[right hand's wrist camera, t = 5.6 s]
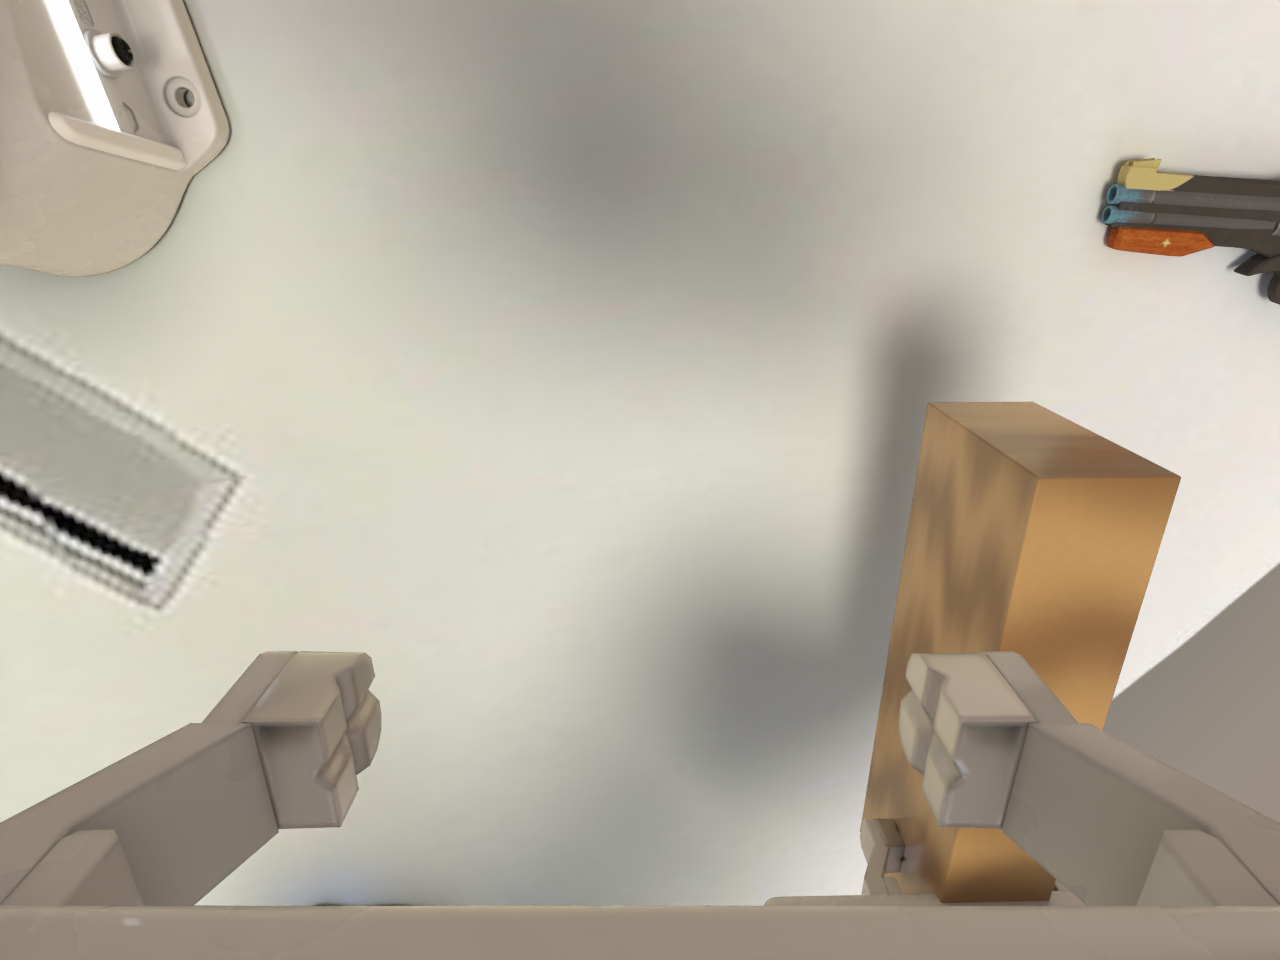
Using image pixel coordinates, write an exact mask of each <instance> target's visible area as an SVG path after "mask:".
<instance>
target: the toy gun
mask: <svg viewBox="0 0 1280 960" xmlns="http://www.w3.org/2000/svg"><path fill="white" fill-rule="evenodd" d="M1160 161H1161V159H1157V160H1155V159H1154V158H1152V159H1142V160H1133V161H1127V162H1126V164H1125V165H1122V166H1121V169H1120V171H1119V174H1118V179H1117V183H1115V184H1113V185H1112V186H1111V187H1110V188H1109V190H1108V192H1107V196H1106V200H1107V203H1108V204H1112V205H1108V206H1106V207H1105V208H1104V210H1103V212H1102V216H1101V221H1102V223H1106V225H1108V226H1112V229H1111V231H1110V234H1109V237H1108V240H1107V243H1108V247H1111V248H1113V249H1116V250H1122V251H1131V252H1139V253H1149V254H1158V255H1167V256H1185V255H1188V254H1191V253H1195V252H1198V251H1201V250H1205V249H1208V248H1211V247H1214V246H1224V247H1239V248H1246V249H1250V250H1252V251H1255V252H1256V253H1258V254H1256V255H1254V256H1252V257H1251V258H1249V259H1248V260H1247V261H1245V262H1244V263H1242V264H1241V265H1240V266H1239V267H1237V268H1236V269H1235V270H1234V272H1237V273H1240V274H1243V275H1246V276H1251V275H1255V274H1259V273H1264V272H1270V271H1274V275H1273V278H1272V279H1271V281H1270V283H1269V286H1268V298H1269V300H1270V301H1272V302H1274V303H1277V304H1280V181H1273V180H1257V179H1241V178H1225V177H1209V176H1195V175H1187V174H1176V173H1162V172H1157V170H1158V167H1159V164H1160Z"/></svg>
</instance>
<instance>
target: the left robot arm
mask: <svg viewBox="0 0 1280 960" xmlns="http://www.w3.org/2000/svg"><path fill="white" fill-rule="evenodd" d="M860 840H861V847H862V850H863V852H864V855H865V858H866V861H867V864H868V866H867V870H866V873H865V877H864V883H863V889H862V895H843V896H795V897H774V898H770V899H769V900H767V901H766V903H765V904H764V906H1087V905H1086V904H1084V903H1083V902H1082V901H1081V900H1080V899H1079V898H1077V897H1076V896H1075V895H1074V894H1073V893H1072V892H1070V891H1069V890H1068V889H1067V888H1066V887H1065V886H1064V885H1062V884H1061V883H1060V882H1059V881H1058V880H1057V879H1056V881H1055V884H1054V888H1053V891H1052V894H1051V897H1050V900H1049V901H1018V902H971V903H941V902H940V900H939V898H938V897H937V895H936V894H902V891H901V889H900V886H899V884H898V882H897V879H895V878H894V877H885V878H884V875H885V873H897V872H901V867H902V859H901V858H902V857H903V856H904V851H905V846H906V845H905V843H904V840H903V838H902V836H901V833H900V832H899V831H898V830H897V824H896V822H895V820H894V819H863V822H862V828H861V834H860Z"/></svg>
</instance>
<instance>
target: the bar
mask: <svg viewBox="0 0 1280 960" xmlns="http://www.w3.org/2000/svg"><path fill="white" fill-rule="evenodd" d="M1180 479H1181V477H1180V476H1179V475H1177V474H1175V473H1173V472H1171V471H1169V470H1167V469H1165V468H1163V467H1161V466H1159V465H1157V464H1155V463H1153V462H1151V461H1149V460H1147V459H1145V458H1143V457H1141V456H1139V455H1137V454H1135V453H1133V452H1131V451H1129V450H1127V449H1125V448H1123V447H1121V446H1119V445H1117V444H1115V443H1113V442H1111V441H1109V440H1107V439H1105V438H1103V437H1101V436H1099V435H1097V434H1096V433H1094V432H1092V431H1090V430H1088V429H1086V428H1084V427H1082V426H1080V425H1078V424H1076V423H1074V422H1072V421H1070V420H1068V419H1066V418H1064V417H1062V416H1060V415H1058V414H1056V413H1054V412H1052V411H1050V410H1048V409H1046V408H1044V407H1042V406H1040V405H1038V404H1036V403H1034V402H934V403H928V406H927V412H926V419H925V425H924V431H923V438H922V444H921V450H920V457H919V463H918V469H917V475H916V482H915V488H914V494H913V501H912V507H911V513H910V520H909V526H908V532H907V539H906V545H905V551H904V558H903V564H902V570H901V577H900V583H899V589H898V596H897V602H896V608H895V615H894V621H893V627H892V634H891V640H890V646H889V653H888V659H887V665H886V672H885V678H884V684H883V691H882V697H881V703H880V710H879V716H878V722H877V729H876V735H875V741H874V748H873V754H872V760H871V767H870V773H869V779H868V785H867V792H866V798H865V804H864V811H863V817H862V822H863V819H894V820H895V822H896V824H897V830H898V831H899V832H900V833H901V836H902V838H903V840H904V843H905V845H906V846H905V851H904V856H903V857H902V858H901V859H902V867H901V872H897V873H885V875H884V878H885V877H894V878H895V879H897V882H898V884H899V886H900V889H901V891H902V894H936V895H937V897H938V898H939V900H940V902H941V903H971V902H1018V901H1049V900H1050V897H1051V894H1052V891H1053V888H1054V884H1055V881H1056V879H1055V878H1054V877H1053V876H1052V875H1051V874H1050V873H1048V872H1047V871H1046V870H1045V869H1044V868H1043V867H1042V866H1040V865H1039V864H1038V863H1037V862H1036V861H1035V860H1033V859H1032V858H1031V857H1030V856H1029V855H1028V854H1026V853H1025V852H1024V851H1023V850H1022V849H1021V848H1020V847H1018V846H1017V845H1016V844H1015V843H1014V842H1013V841H1011V840H1010V839H1009V838H1008V837H1007V836H1006V835H1004V834H1003V833H1002V832H1001V831H1002V829H990V828H955V827H939V825H938V823H937V820H936V818H935V816H934V814H933V812H932V810H931V808H930V806H929V804H928V802H927V800H926V798H925V796H924V794H923V792H922V790H921V788H922V783H923V777H924V775H923V774H921V773H920V772H919V771H917V770H916V769H914V768H913V767H912V766H910V764H909V762H908V760H907V758H906V756H905V753H904V751H903V747H902V743H901V740H900V733H899V720H898V718H899V711H900V703H901V700H902V699H903V698H904V697H905V696H906V695H907V694H908V693H909V692H910V691H911V690H912V688H911V686H910V684H909V683H908V681H907V679H906V677H905V674H906V668H907V663H908V660H909V658H910V657H911V655H912V653H979V652H991V651H1014V652H1016V653H1018V654H1020V655H1022V657H1023V658H1024V659H1025V660H1026V661H1027V663H1028V664H1029V665H1030V666H1031V667H1032V668H1033V670H1034V671H1035V672H1036V673H1037V674H1038V676H1039V677H1040V678H1041V679H1042V680H1043V682H1044V683H1045V684H1046V685H1047V686H1048V687H1049V689H1050V690H1051V691H1052V692H1053V693H1054V695H1055V696H1056V697H1057V698H1058V699H1059V700H1060V702H1061V703H1062V704H1063V705H1064V706H1065V708H1066V709H1067V710H1068V711H1069V712H1070V713H1071V715H1072V716H1073V717H1074V718H1075V719H1076V721H1077V722H1078V723H1090V724H1092V725H1094V726H1096V727H1098V728H1099V729H1101V730H1103V727H1104V723H1105V720H1106V717H1107V714H1108V711H1109V707H1110V704H1111V701H1112V698H1113V695H1114V691H1115V688H1116V685H1117V682H1118V679H1119V675H1120V672H1121V669H1122V666H1123V663H1124V659H1125V656H1126V653H1127V650H1128V646H1129V643H1130V640H1131V637H1132V634H1133V630H1134V627H1135V624H1136V621H1137V618H1138V614H1139V611H1140V608H1141V605H1142V601H1143V598H1144V595H1145V592H1146V589H1147V585H1148V582H1149V579H1150V576H1151V573H1152V569H1153V566H1154V563H1155V560H1156V556H1157V553H1158V550H1159V547H1160V544H1161V540H1162V537H1163V534H1164V531H1165V528H1166V524H1167V521H1168V518H1169V515H1170V511H1171V508H1172V505H1173V502H1174V499H1175V495H1176V492H1177V489H1178V486H1179V483H1180ZM861 828H862V823H861ZM860 832H861V830H860Z"/></svg>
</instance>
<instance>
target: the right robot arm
mask: <svg viewBox="0 0 1280 960" xmlns="http://www.w3.org/2000/svg"><path fill="white" fill-rule="evenodd" d="M187 90H190V91H191V93H192V94H193V97H194V103H193V105H192V106H191V107H188V106H187V105H186V103H185V101H184V93H185V92H186V91H187ZM228 138H229V124H228V120H227V117H226V114H225V112H224V109H223V106H222V104H221V101H220V98H219V96H218V93H217V90H216V88H215V85H214V82H213V80H212V77H211V74H210V72H209V69H208V66H207V64H206V61H205V58H204V56H203V53H202V50H201V48H200V45H199V42H198V40H197V37H196V34H195V32H194V29H193V26H192V24H191V21H190V18H189V16H188V13H187V10H186V8H185V5H184V2H183V0H0V264H5V265H12V266H18V267H23V268H27V269H31V270H35V271H39V272H43V273H48V274H53V275H61V276H90V275H97V274H102V273H107V272H110V271H113V270H116V269H119V268H121V267H124V266H126V265H128V264H130V263H132V262H133V261H135V260H137V259H138V258H140V257H141V256H143V255H144V254H145V253H147V252H148V251H149V250H150V249H151V248H152V247H153V246H154V245H155V244H156V243H157V242H158V241H159V240H160V238H161V237H162V236H163V235H164V233H165V232H166V230H167V229H168V227H169V226H170V224H171V222H172V220H173V218H174V216H175V214H176V212H177V209H178V207H179V204H180V202H181V199H182V197H183V194H184V191H185V189H186V187H187V185H188V183H189V182H190V180H191V179H192V177H193V176H194V175H195V174H196V173H198V172H199V171H200V170H201V169H203V168H204V167H205V166H206V165H207V164H209V163H210V162H211V161H212V160H213V159H214V158H215V157H216V156H217V155H218V154H219V153H220V152H221V151H222V150H223V148H224V147H225V145H226V143H227V141H228ZM374 677H375V674H374V669H373V664H372V660H371V657H370V656H368V655H367V654H366V653H354V652H308V651H301V652H297V651H268V652H265V653H262V654H259V656H258V657H257V658H256V659H255V660H254V661H253V662H252V664H251V665H250V666H249V667H248V668H247V670H246V671H245V672H244V673H243V674H242V676H241V677H240V678H239V679H238V680H237V681H236V683H235V684H234V685H233V686H232V687H231V689H230V690H229V691H228V692H227V693H226V694H225V696H224V697H223V698H222V699H221V700H220V702H219V703H218V704H217V705H216V706H215V708H214V709H213V710H212V711H211V712H210V713H209V715H208V716H207V717H206V718H205V719H204V721H203V722H202V723H190V724H188V725H186V726H184V727H182V728H181V729H179V730H177V731H175V732H173V733H171V734H169V735H167V736H165V737H163V738H161V739H160V740H158V741H156V742H154V743H152V744H150V745H148V746H146V747H144V748H142V749H140V750H139V751H137V752H135V753H133V754H131V755H129V756H127V757H125V758H123V759H121V760H119V761H118V762H116V763H114V764H112V765H110V766H108V767H106V768H104V769H102V770H100V771H98V772H97V773H95V774H93V775H91V776H89V777H87V778H85V779H83V780H81V781H79V782H77V783H75V784H74V785H72V786H70V787H68V788H66V789H64V790H62V791H60V792H58V793H56V794H54V795H53V796H51V797H49V798H47V799H45V800H43V801H41V802H39V803H37V804H35V805H33V806H32V807H30V808H28V809H26V810H24V811H22V812H20V813H18V814H16V815H14V816H12V817H11V818H9V819H7V820H5V821H3V822H1V823H0V960H1280V823H1278V822H1277V821H1275V820H1273V819H1271V818H1269V817H1267V816H1265V815H1263V814H1261V813H1259V812H1257V811H1256V810H1254V809H1252V808H1250V807H1248V806H1246V805H1244V804H1242V803H1240V802H1238V801H1237V800H1235V799H1233V798H1231V797H1229V796H1227V795H1225V794H1223V793H1221V792H1219V791H1217V790H1216V789H1214V788H1212V787H1210V786H1208V785H1206V784H1204V783H1202V782H1200V781H1198V780H1197V779H1195V778H1193V777H1191V776H1189V775H1187V774H1185V773H1183V772H1181V771H1179V770H1178V769H1176V768H1174V767H1172V766H1170V765H1168V764H1166V763H1164V762H1162V761H1160V760H1158V759H1157V758H1155V757H1153V756H1151V755H1149V754H1147V753H1145V752H1143V751H1141V750H1139V749H1137V748H1136V747H1134V746H1132V745H1130V744H1128V743H1126V742H1124V741H1122V740H1120V739H1118V738H1117V737H1115V736H1113V735H1111V734H1109V733H1107V732H1105V731H1103V730H1101V729H1099V728H1098V727H1096V726H1094V725H1092V724H1090V723H1078V722H1077V721H1076V719H1075V718H1074V717H1073V716H1072V715H1071V713H1070V712H1069V711H1068V710H1067V709H1066V708H1065V706H1064V705H1063V704H1062V703H1061V702H1060V700H1059V699H1058V698H1057V697H1056V696H1055V695H1054V693H1053V692H1052V691H1051V690H1050V689H1049V687H1048V686H1047V685H1046V684H1045V683H1044V682H1043V680H1042V679H1041V678H1040V677H1039V676H1038V674H1037V673H1036V672H1035V671H1034V670H1033V668H1032V667H1031V666H1030V665H1029V664H1028V663H1027V661H1026V660H1025V659H1024V658H1023V657H1022V655H1020V654H1018V653H1016V652H1014V651H991V652H979V653H912V655H911V657H910V658H909V660H908V663H907V668H906V674H905V677H906V679H907V681H908V683H909V684H910V686H911V688H912V690H911V691H910V692H909V693H908V694H907V695H906V696H905V697H904V698H903V699H902V700H901V703H900V711H899V718H898V720H899V733H900V740H901V743H902V747H903V751H904V753H905V756H906V758H907V760H908V762H909V764H910V766H912V767H913V768H914V769H916V770H917V771H919V772H920V773H921V774H923V775H924V777H923V783H922V788H921V790H922V792H923V794H924V796H925V798H926V800H927V802H928V804H929V806H930V808H931V810H932V812H933V814H934V816H935V818H936V820H937V823H938V825H939V827H955V828H990V829H1002V831H1001V832H1002V833H1003V834H1004V835H1006V836H1007V837H1008V838H1009V839H1010V840H1011V841H1013V842H1014V843H1015V844H1016V845H1017V846H1018V847H1020V848H1021V849H1022V850H1023V851H1024V852H1025V853H1026V854H1028V855H1029V856H1030V857H1031V858H1032V859H1033V860H1035V861H1036V862H1037V863H1038V864H1039V865H1040V866H1042V867H1043V868H1044V869H1045V870H1046V871H1047V872H1048V873H1050V874H1051V875H1052V876H1053V877H1054V878H1055V879H1057V880H1058V881H1059V882H1060V883H1061V884H1062V885H1064V886H1065V887H1066V888H1067V889H1068V890H1069V891H1070V892H1072V893H1073V894H1074V895H1075V896H1076V897H1077V898H1079V899H1080V900H1081V901H1082V902H1083V903H1084V904H1086V905H1087V906H194V905H195V904H196V903H197V902H198V901H199V900H200V899H202V898H203V897H204V896H205V895H206V894H207V893H209V892H210V891H211V890H212V889H213V888H214V887H216V886H217V885H218V884H219V883H220V882H221V881H223V880H224V879H225V878H226V877H227V876H228V875H229V874H231V873H232V872H233V871H234V870H235V869H236V868H238V867H239V866H240V865H241V864H242V863H243V862H245V861H246V860H247V859H248V858H249V857H250V856H252V855H253V854H254V853H255V852H256V851H257V850H258V849H260V848H261V847H262V846H263V845H264V844H265V843H267V842H268V841H269V840H270V839H271V838H272V837H274V836H275V835H276V834H277V833H278V829H289V828H324V827H341V825H342V823H343V821H344V819H345V816H346V814H347V812H348V810H349V808H350V806H351V804H352V802H353V800H354V798H355V796H356V794H357V792H358V790H359V788H358V783H357V777H356V775H357V774H359V773H360V772H361V771H363V770H364V769H366V768H367V767H368V766H370V764H371V762H372V760H373V758H374V755H375V753H376V751H377V748H378V743H379V738H380V733H381V709H380V703H379V700H378V699H377V698H376V697H375V696H374V695H373V694H372V693H371V692H370V691H369V690H368V688H369V686H370V685H371V683H372V681H373V679H374Z"/></svg>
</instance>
